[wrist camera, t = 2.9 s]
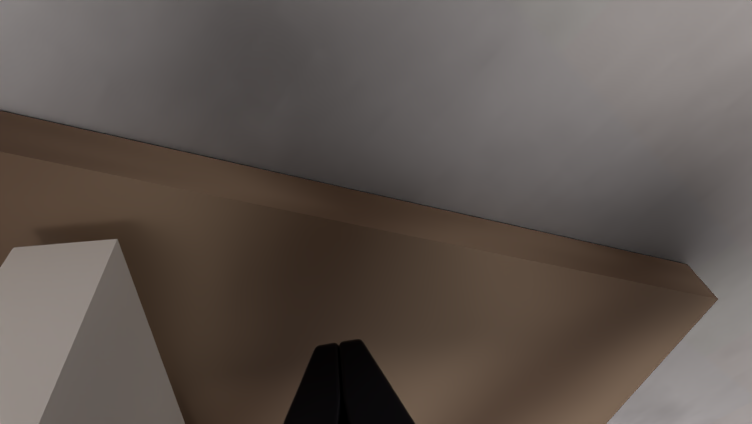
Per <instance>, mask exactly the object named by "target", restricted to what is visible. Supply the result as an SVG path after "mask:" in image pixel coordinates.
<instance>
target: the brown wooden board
mask: <svg viewBox="0 0 752 424" xmlns="http://www.w3.org/2000/svg"><path fill="white" fill-rule="evenodd" d="M109 239H118V242H119V244H120V247H121V250H122V253H123V255H124V258H125V261H126V264H127V266H128V269H129V272H130V275H131V277H132V280H133V283H134V285H135V288H136V291H137V294H138V296H139V299H140V302H141V305H142V307H143V310H144V313H145V316H146V318H147V321H148V324H149V326H150V329H151V332H152V335H153V337H154V340H155V343H156V346H157V348H158V351H159V354H160V357H161V359H162V362H163V365H164V368H165V370H166V373H167V376H168V378H169V381H170V384H171V387H172V389H173V392H174V395H175V398H176V400H177V403H178V406H179V409H180V411H181V414H182V417H183V419H184V422H185V424H283V423H284V420H285V418H286V415H287V413H288V411H289V408H290V406H291V403H292V401H293V399H294V396H295V394H296V391H297V389H298V387H299V384H300V382H301V379H302V377H303V375H304V372H305V370H306V368H307V365H308V363H309V360H310V358H311V356H312V353H313V351H314V349H315V347H317V346H318V345H323V344H329V343H337V344H338V345H339V344H340V343H341V342H342V341H348V340H354V339H361V340H362V341H363V342H364V344H365V345H366V347H367V348H368V350H369V352H370V353H371V355H372V356H373V358H374V359H375V361H376V363H377V364H378V366H379V367H380V369H381V370H382V372H383V374H384V375H385V377H386V378H387V380H388V381H389V383H390V385H391V386H392V388H393V389H394V391H395V392H396V394H397V396H398V397H399V399H400V400H401V402H402V403H403V405H404V407H405V408H406V410H407V411H408V413H409V414H410V416H411V418H412V419H413V421H414V422H415V424H606V423H607V422H608V421H609V420H610V419H611V418H612V416H613V415H614V414H615V413H616V412H617V411H618V410H619V409H620V408H621V406H622V405H623V404H624V403H625V402H626V401H627V400H628V399H629V398H630V396H631V395H632V394H633V393H634V392H635V391H636V390H637V389H638V388H639V386H640V385H641V384H642V383H643V382H644V381H645V380H646V379H647V378H648V376H649V375H650V374H651V373H652V372H653V371H654V370H655V369H656V368H657V366H658V365H659V364H660V363H661V362H662V361H663V360H664V359H665V358H666V356H667V355H668V354H669V353H670V352H671V351H672V350H673V349H674V348H675V346H676V345H677V344H678V343H679V342H680V341H681V340H682V339H683V338H684V336H685V335H686V334H687V333H688V332H689V331H690V330H691V329H692V328H693V326H694V325H695V324H696V323H697V322H698V321H699V320H700V319H701V318H702V316H703V315H704V314H705V313H706V312H707V311H708V310H709V309H710V308H711V306H712V305H713V304H714V303H715V302H716V301H717V300H718V298H717V297H716V296H715V295H714V294H713V293H712V292H711V290H710V289H709V288H708V287H707V286H706V285H705V284H704V283H703V281H702V280H701V279H700V278H699V277H698V276H697V275H696V274H695V272H694V271H693V270H692V269H691V268H690V267H689V266H688V265H687V264H683V263H678V262H674V261H669V260H665V259H660V258H656V257H651V256H647V255H642V254H638V253H634V252H629V251H625V250H620V249H616V248H611V247H607V246H602V245H598V244H593V243H589V242H584V241H580V240H575V239H571V238H566V237H562V236H558V235H553V234H549V233H544V232H540V231H535V230H531V229H526V228H522V227H517V226H513V225H508V224H504V223H499V222H495V221H490V220H486V219H482V218H477V217H473V216H468V215H464V214H459V213H455V212H450V211H446V210H441V209H437V208H432V207H428V206H423V205H419V204H415V203H410V202H406V201H401V200H397V199H392V198H388V197H383V196H379V195H374V194H370V193H365V192H361V191H356V190H352V189H347V188H343V187H339V186H334V185H330V184H325V183H321V182H316V181H312V180H307V179H303V178H298V177H294V176H289V175H285V174H280V173H276V172H272V171H267V170H263V169H258V168H254V167H249V166H245V165H240V164H236V163H231V162H227V161H222V160H218V159H213V158H209V157H204V156H200V155H196V154H191V153H187V152H182V151H178V150H173V149H169V148H164V147H160V146H155V145H151V144H146V143H142V142H137V141H133V140H129V139H124V138H120V137H115V136H111V135H106V134H102V133H97V132H93V131H88V130H84V129H79V128H75V127H70V126H66V125H61V124H57V123H53V122H48V121H44V120H39V119H35V118H30V117H26V116H21V115H17V114H12V113H8V112H3V111H0V267H1V266H2V264H3V263H4V261H5V259H6V258H7V256H8V255H9V253H10V252H11V250H12V249H13V248H14V247H26V246H38V245H50V244H62V243H73V242H85V241H97V240H109Z"/></svg>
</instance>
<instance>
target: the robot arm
mask: <svg viewBox="0 0 752 424" xmlns="http://www.w3.org/2000/svg"><path fill="white" fill-rule="evenodd" d="M283 424H415V422H414V421H413V419H412V418H411V416H410V414H409V413H408V411H407V410H406V408H405V407H404V405H403V403H402V402H401V400H400V399H399V397H398V396H397V394H396V392H395V391H394V389H393V388H392V386H391V385H390V383H389V381H388V380H387V378H386V377H385V375H384V374H383V372H382V370H381V369H380V367H379V366H378V364H377V363H376V361H375V359H374V358H373V356H372V355H371V353H370V352H369V350H368V348H367V347H366V345H365V344H364V342H363V341H362V340H361V339H354V340H348V341H342V342H341V343H340V344H339V345H338V344H337V343H329V344H323V345H318V346H317V347H315V349H314V351H313V353H312V356H311V358H310V360H309V363H308V365H307V368H306V370H305V372H304V375H303V377H302V379H301V382H300V384H299V387H298V389H297V391H296V394H295V396H294V399H293V401H292V403H291V406H290V408H289V411H288V413H287V415H286V418H285V420H284V423H283Z"/></svg>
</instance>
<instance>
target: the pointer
mask: <svg viewBox="0 0 752 424" xmlns="http://www.w3.org/2000/svg"><path fill="white" fill-rule="evenodd" d="M0 424H185V422H184V419H183V417H182V414H181V411H180V409H179V406H178V403H177V400H176V398H175V395H174V392H173V389H172V387H171V384H170V381H169V378H168V376H167V373H166V370H165V368H164V365H163V362H162V359H161V357H160V354H159V351H158V348H157V346H156V343H155V340H154V337H153V335H152V332H151V329H150V326H149V324H148V321H147V318H146V316H145V313H144V310H143V307H142V305H141V302H140V299H139V296H138V294H137V291H136V288H135V285H134V283H133V280H132V277H131V275H130V272H129V269H128V266H127V264H126V261H125V258H124V255H123V253H122V250H121V247H120V244H119V242H118V239H109V240H97V241H85V242H73V243H62V244H50V245H38V246H26V247H14V248H13V249H12V250H11V252H10V253H9V255H8V256H7V258H6V259H5V261H4V263H3V264H2V266H1V267H0Z"/></svg>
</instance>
